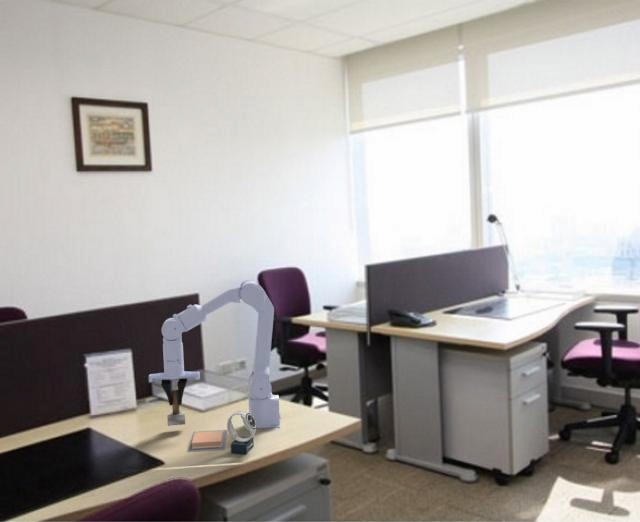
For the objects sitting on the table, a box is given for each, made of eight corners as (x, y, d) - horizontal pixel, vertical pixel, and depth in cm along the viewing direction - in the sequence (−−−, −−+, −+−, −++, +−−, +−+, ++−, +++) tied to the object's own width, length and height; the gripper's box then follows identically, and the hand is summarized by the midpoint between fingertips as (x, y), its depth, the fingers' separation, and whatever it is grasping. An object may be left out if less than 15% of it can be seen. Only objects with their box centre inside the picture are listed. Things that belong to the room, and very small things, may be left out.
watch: (253, 456, 163) (251, 416, 162) (225, 454, 165) (223, 414, 164) (260, 448, 168) (259, 409, 167) (233, 446, 170) (231, 408, 169)
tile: (222, 430, 177) (221, 441, 169) (223, 436, 177) (221, 446, 169) (194, 432, 176) (191, 443, 168) (195, 437, 176) (192, 448, 168)
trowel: (185, 421, 184) (183, 388, 183) (185, 424, 181) (183, 391, 180) (168, 422, 183) (166, 389, 182) (167, 425, 180) (166, 392, 179)
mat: (227, 431, 182) (227, 429, 182) (224, 451, 167) (224, 449, 167) (193, 433, 181) (193, 431, 181) (187, 453, 166) (187, 451, 166)
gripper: (199, 354, 185) (201, 398, 186) (150, 357, 184) (153, 401, 185) (197, 360, 178) (199, 405, 179) (146, 363, 177) (149, 408, 178)
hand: (175, 404), depth 182 cm, fingers closed on trowel, 2 cm apart
